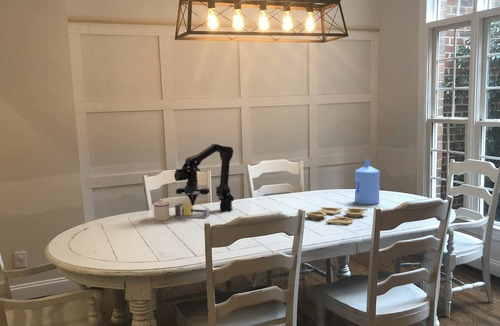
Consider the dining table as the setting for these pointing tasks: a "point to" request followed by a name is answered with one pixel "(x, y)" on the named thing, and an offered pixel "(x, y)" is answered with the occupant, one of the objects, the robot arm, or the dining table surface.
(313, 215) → the tableware set
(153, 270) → the dining table surface
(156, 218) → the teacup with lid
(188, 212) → the sleeve
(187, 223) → the dining table surface
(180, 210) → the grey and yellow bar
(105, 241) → the dining table surface
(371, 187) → the water jug
